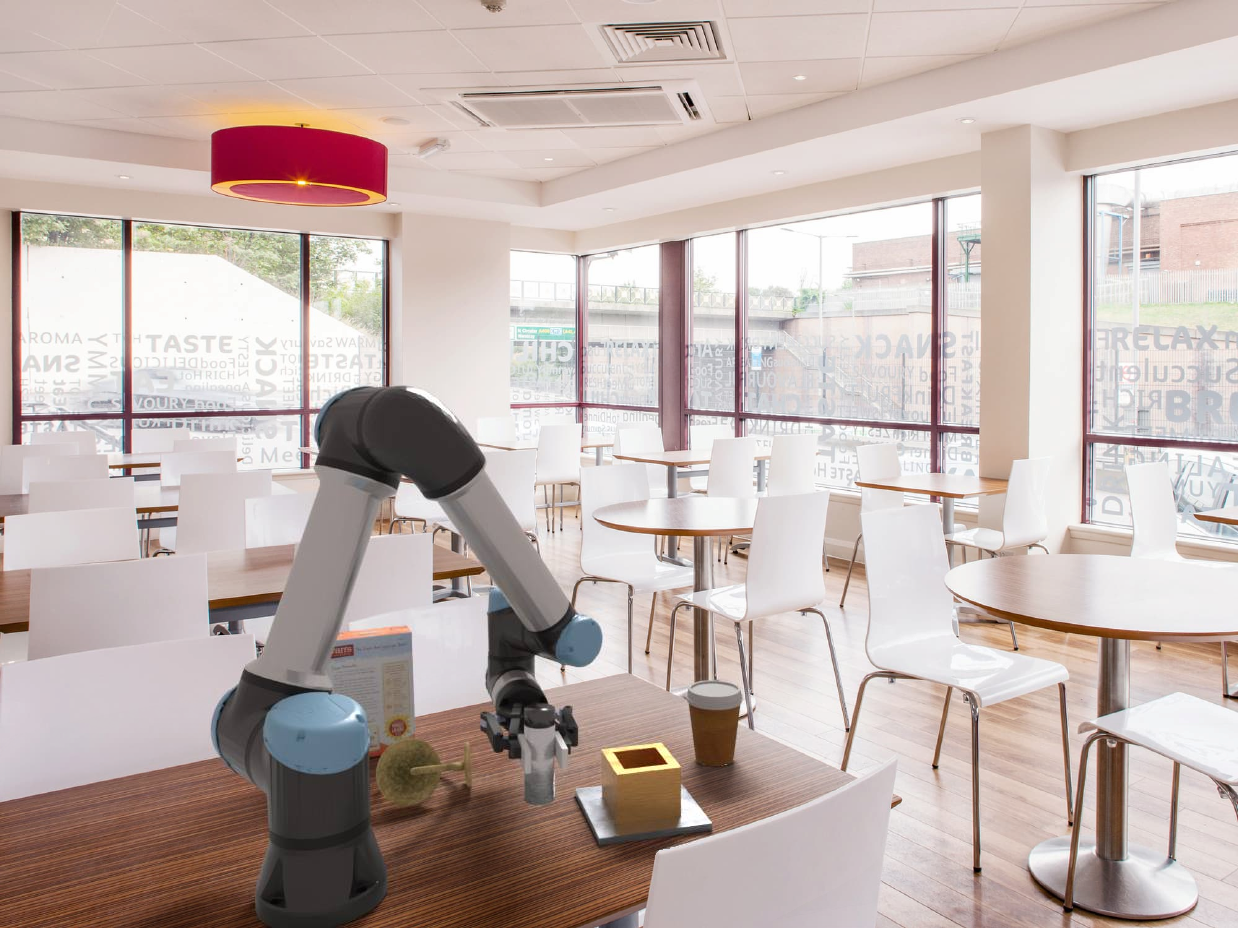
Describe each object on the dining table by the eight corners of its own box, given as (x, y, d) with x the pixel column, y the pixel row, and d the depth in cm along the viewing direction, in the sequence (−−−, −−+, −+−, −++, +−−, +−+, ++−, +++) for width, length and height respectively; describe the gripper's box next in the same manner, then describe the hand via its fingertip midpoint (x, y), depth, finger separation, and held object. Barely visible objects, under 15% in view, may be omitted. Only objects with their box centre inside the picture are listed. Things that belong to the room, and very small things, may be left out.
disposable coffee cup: (681, 768, 144) (680, 695, 144) (690, 745, 154) (690, 677, 153) (740, 773, 142) (740, 699, 141) (746, 750, 151) (746, 681, 150)
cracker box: (411, 739, 158) (408, 623, 156) (416, 751, 152) (413, 631, 151) (328, 751, 153) (324, 631, 151) (330, 764, 147) (326, 640, 146)
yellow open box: (599, 845, 119) (598, 787, 119) (575, 794, 135) (574, 743, 134) (712, 829, 123) (711, 773, 123) (676, 782, 139) (675, 732, 138)
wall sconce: (467, 734, 146) (471, 727, 123) (471, 795, 143) (475, 800, 120) (380, 743, 143) (367, 738, 120) (381, 806, 140) (368, 813, 117)
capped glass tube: (526, 806, 114) (526, 714, 114) (522, 793, 118) (522, 704, 118) (557, 803, 115) (557, 712, 115) (551, 790, 119) (552, 702, 119)
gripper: (575, 722, 136) (612, 784, 114) (462, 731, 132) (478, 797, 109) (575, 674, 136) (613, 726, 113) (462, 681, 132) (478, 737, 109)
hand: (546, 760), depth 111 cm, fingers closed on capped glass tube, 4 cm apart
